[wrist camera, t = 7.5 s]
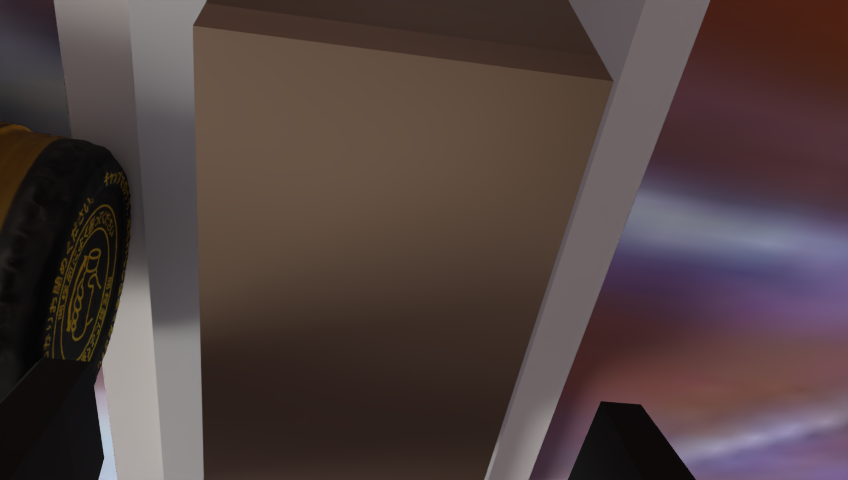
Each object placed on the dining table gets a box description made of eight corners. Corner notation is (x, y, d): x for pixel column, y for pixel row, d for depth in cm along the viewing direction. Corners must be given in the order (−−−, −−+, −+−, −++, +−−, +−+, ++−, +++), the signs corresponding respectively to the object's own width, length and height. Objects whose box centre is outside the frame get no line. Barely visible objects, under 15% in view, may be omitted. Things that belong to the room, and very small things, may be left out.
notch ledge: (510, 486, 23) (519, 547, 21) (128, 462, 21) (108, 525, 20) (811, -353, 11) (883, -359, 9) (15, -521, 10) (-59, -560, 8)
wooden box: (415, 416, 19) (424, 664, 14) (254, 404, 19) (207, 657, 14) (524, -78, 12) (613, 81, 7) (272, -118, 12) (192, 25, 7)
